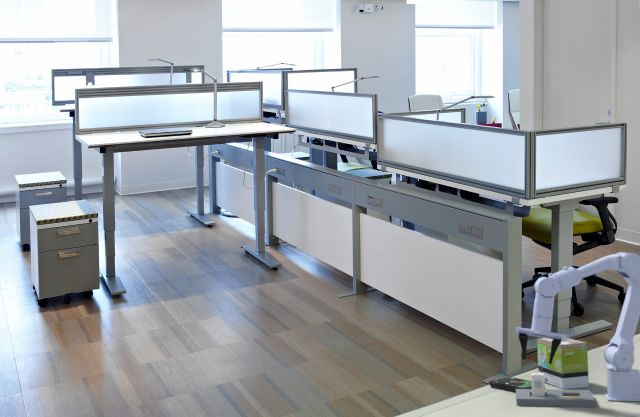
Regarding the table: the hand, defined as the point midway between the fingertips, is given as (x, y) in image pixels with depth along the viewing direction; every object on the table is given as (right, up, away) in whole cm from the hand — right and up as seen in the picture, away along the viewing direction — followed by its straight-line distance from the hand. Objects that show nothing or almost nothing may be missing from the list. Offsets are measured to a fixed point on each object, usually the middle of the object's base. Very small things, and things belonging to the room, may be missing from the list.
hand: (537, 361), depth 233 cm
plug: (0, -12, -1) cm, 12 cm away
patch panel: (+4, -12, -2) cm, 13 cm away
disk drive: (-2, -13, +17) cm, 22 cm away
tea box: (+15, -12, +22) cm, 30 cm away
